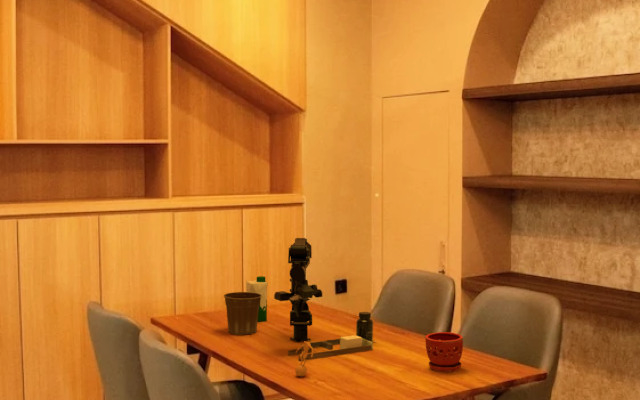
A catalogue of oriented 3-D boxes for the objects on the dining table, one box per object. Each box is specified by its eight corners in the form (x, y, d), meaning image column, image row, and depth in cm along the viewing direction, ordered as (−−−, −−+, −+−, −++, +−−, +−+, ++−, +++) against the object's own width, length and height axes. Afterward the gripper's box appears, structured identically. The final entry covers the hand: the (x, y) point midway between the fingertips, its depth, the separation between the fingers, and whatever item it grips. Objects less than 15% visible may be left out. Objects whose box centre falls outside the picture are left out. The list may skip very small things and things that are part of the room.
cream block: (340, 349, 304) (340, 337, 303) (355, 347, 307) (355, 335, 307) (346, 352, 299) (346, 339, 299) (361, 350, 303) (362, 337, 302)
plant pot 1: (264, 328, 340) (264, 292, 339) (258, 337, 324) (258, 298, 323) (228, 327, 341) (228, 291, 340) (220, 336, 325) (219, 298, 324)
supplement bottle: (371, 344, 312) (371, 314, 311) (354, 343, 313) (355, 314, 312) (373, 340, 319) (374, 311, 318) (357, 339, 320) (357, 310, 319)
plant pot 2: (437, 361, 286) (437, 329, 285) (469, 368, 278) (469, 335, 277) (418, 369, 276) (418, 336, 275) (450, 376, 268) (451, 342, 267)
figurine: (288, 375, 268) (288, 340, 268) (301, 371, 272) (301, 338, 272) (304, 380, 262) (305, 345, 262) (317, 376, 266) (317, 342, 266)
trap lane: (280, 351, 300) (280, 344, 299) (351, 341, 316) (352, 334, 316) (299, 361, 286) (299, 353, 286) (372, 349, 303) (372, 342, 303)
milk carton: (269, 321, 353) (269, 278, 352) (250, 323, 350) (250, 279, 348) (262, 317, 361) (262, 275, 360) (244, 319, 358) (244, 276, 356)
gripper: (286, 281, 291) (286, 322, 291) (329, 277, 300) (329, 317, 301) (273, 277, 300) (273, 317, 301) (315, 273, 310) (315, 312, 310)
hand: (298, 316), depth 303 cm, fingers closed
